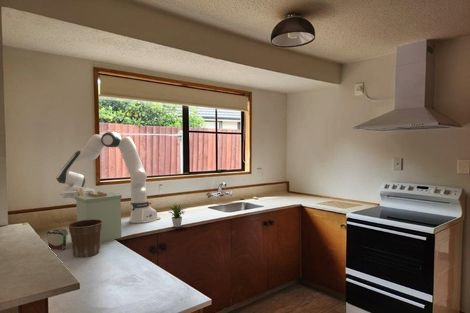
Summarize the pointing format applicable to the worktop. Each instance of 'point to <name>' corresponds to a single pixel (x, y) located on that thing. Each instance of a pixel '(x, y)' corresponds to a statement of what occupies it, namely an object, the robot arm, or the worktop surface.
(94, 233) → the plant pot
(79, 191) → the tan bar
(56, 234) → the food container
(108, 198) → the toolbox
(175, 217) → the house plant
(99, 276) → the worktop surface
